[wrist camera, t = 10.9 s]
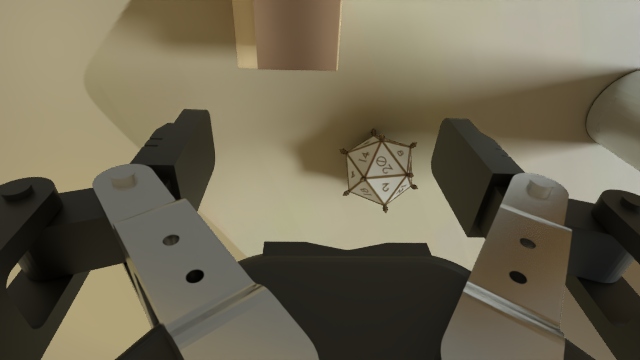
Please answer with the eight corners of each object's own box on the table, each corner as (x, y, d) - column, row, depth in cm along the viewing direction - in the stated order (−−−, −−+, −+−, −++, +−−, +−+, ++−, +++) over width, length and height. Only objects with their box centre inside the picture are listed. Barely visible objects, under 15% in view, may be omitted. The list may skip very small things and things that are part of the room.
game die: (352, 137, 45) (311, 151, 37) (414, 113, 40) (384, 122, 32) (375, 202, 45) (340, 230, 37) (440, 186, 41) (416, 214, 32)
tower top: (339, -49, 27) (345, -48, 24) (333, 56, 32) (337, 69, 28) (235, -54, 27) (226, -53, 23) (244, 54, 31) (238, 67, 28)
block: (333, -27, 25) (341, -19, 20) (329, 47, 27) (336, 70, 22) (261, -29, 24) (252, -22, 19) (265, 45, 27) (257, 69, 22)
